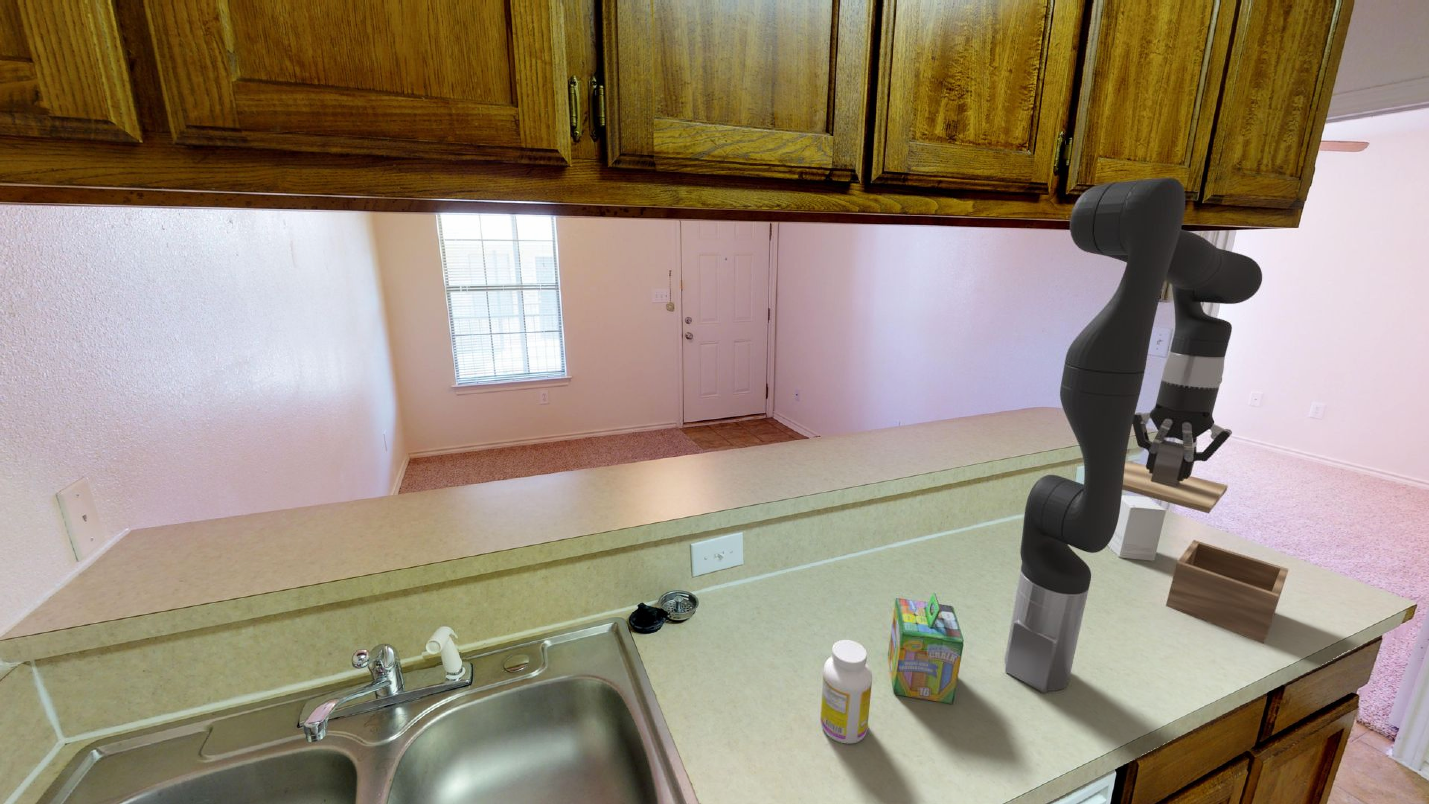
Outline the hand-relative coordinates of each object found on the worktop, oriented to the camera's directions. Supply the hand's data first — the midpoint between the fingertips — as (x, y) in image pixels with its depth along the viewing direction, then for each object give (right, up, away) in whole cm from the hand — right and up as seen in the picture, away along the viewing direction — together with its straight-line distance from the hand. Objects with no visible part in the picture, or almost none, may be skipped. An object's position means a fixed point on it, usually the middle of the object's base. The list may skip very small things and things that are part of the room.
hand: (1166, 475), depth 97 cm
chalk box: (-47, -32, -8) cm, 57 cm away
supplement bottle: (-61, -34, -17) cm, 72 cm away
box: (+19, -27, +11) cm, 35 cm away
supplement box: (+17, -22, +31) cm, 42 cm away
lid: (0, -2, +1) cm, 2 cm away
